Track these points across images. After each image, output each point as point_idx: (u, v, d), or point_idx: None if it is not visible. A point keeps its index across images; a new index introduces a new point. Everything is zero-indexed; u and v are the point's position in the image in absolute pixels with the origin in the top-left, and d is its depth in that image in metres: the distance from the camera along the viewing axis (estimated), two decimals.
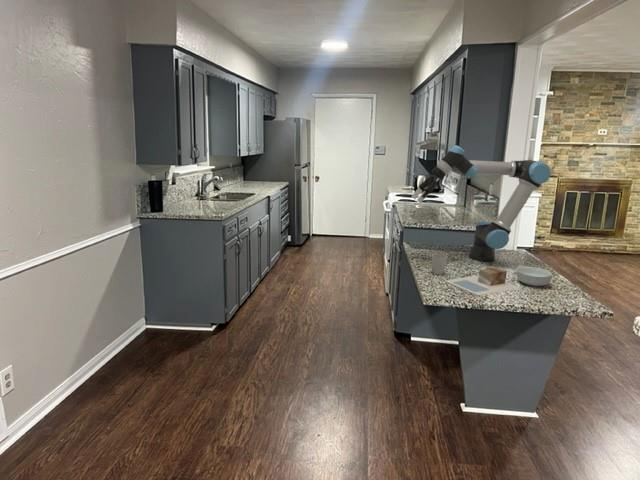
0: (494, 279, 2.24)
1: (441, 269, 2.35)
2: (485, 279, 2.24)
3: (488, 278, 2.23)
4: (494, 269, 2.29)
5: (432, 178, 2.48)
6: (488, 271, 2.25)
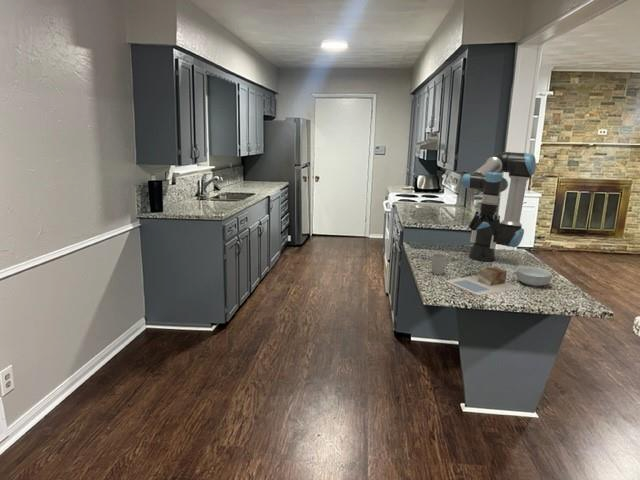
0: (494, 279, 2.24)
1: (441, 269, 2.35)
2: (485, 279, 2.24)
3: (488, 278, 2.23)
4: (494, 269, 2.29)
5: (488, 217, 2.21)
6: (488, 271, 2.25)
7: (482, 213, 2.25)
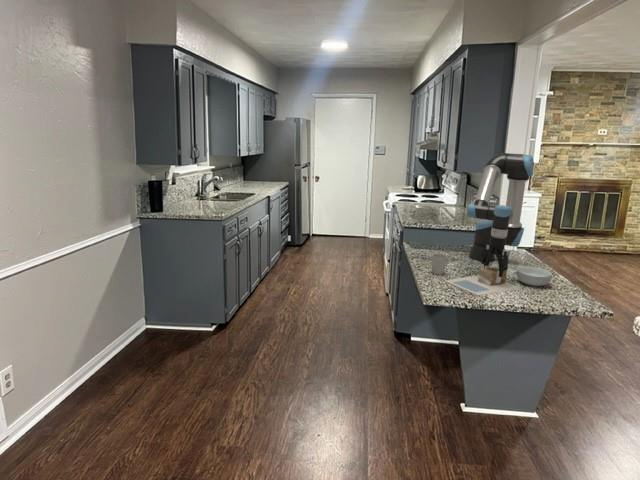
0: (494, 279, 2.24)
1: (441, 269, 2.35)
2: (485, 279, 2.24)
3: (488, 278, 2.23)
4: (494, 269, 2.29)
5: (498, 251, 2.22)
6: (488, 271, 2.25)
7: (491, 245, 2.26)
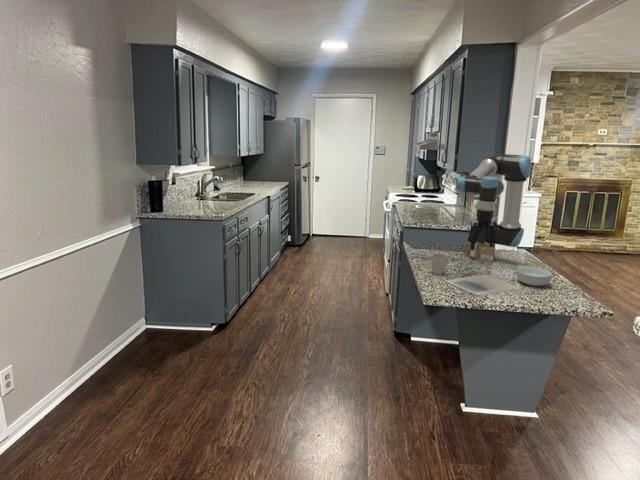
0: None
1: (441, 269, 2.35)
2: (489, 256, 2.13)
3: (492, 253, 2.14)
4: None
5: None
6: (487, 247, 2.14)
7: (481, 220, 2.12)
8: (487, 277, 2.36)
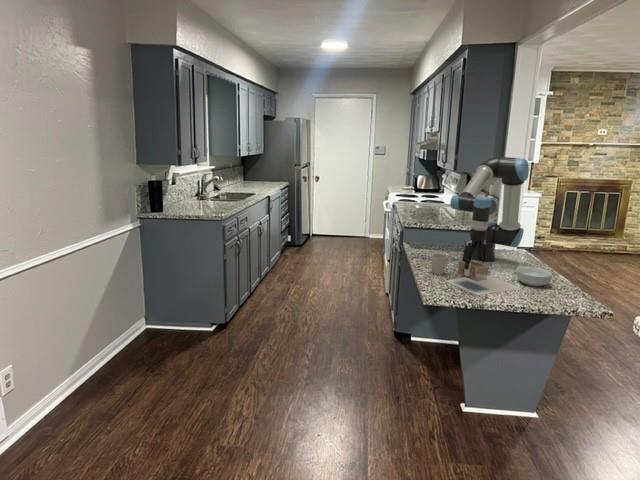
0: None
1: (441, 269, 2.35)
2: (483, 275, 2.15)
3: (486, 272, 2.15)
4: None
5: None
6: (481, 266, 2.15)
7: (475, 240, 2.13)
8: (487, 277, 2.36)
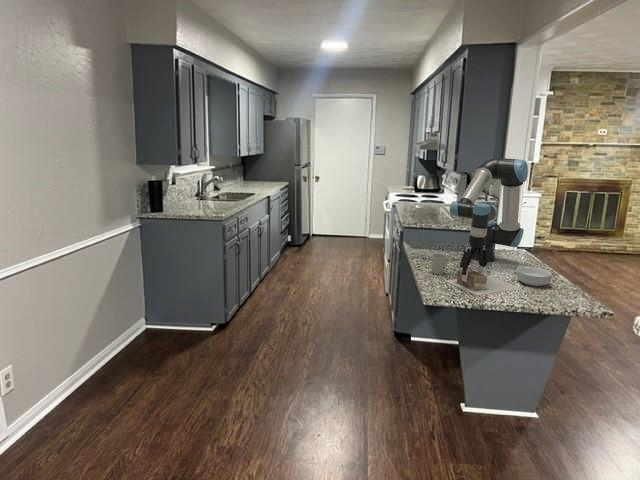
0: None
1: (441, 269, 2.35)
2: (482, 284, 2.16)
3: (485, 281, 2.17)
4: (468, 272, 2.21)
5: None
6: (480, 275, 2.17)
7: (474, 247, 2.14)
8: (487, 277, 2.36)
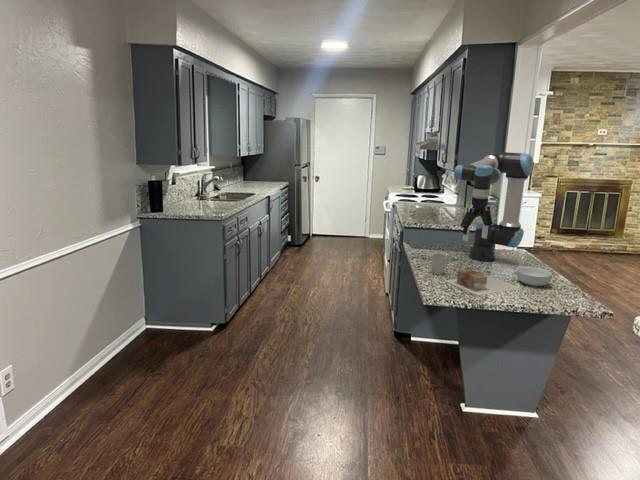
0: None
1: (441, 269, 2.35)
2: (482, 284, 2.16)
3: (485, 281, 2.17)
4: (468, 272, 2.21)
5: None
6: (480, 275, 2.17)
7: (477, 208, 2.18)
8: (487, 277, 2.36)
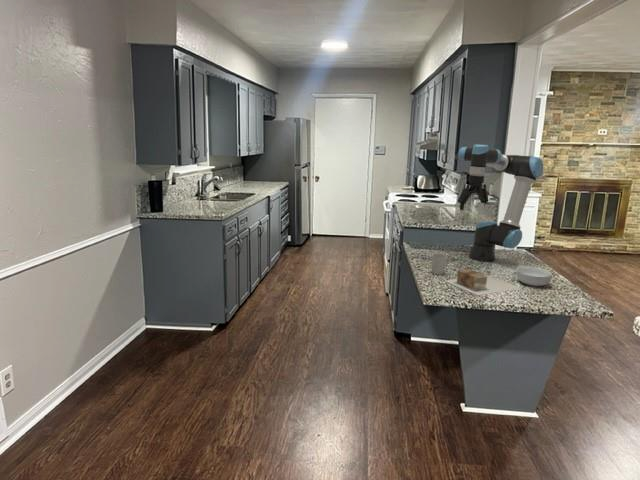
0: None
1: (441, 269, 2.35)
2: (482, 284, 2.16)
3: (485, 281, 2.17)
4: (468, 272, 2.21)
5: None
6: (480, 275, 2.17)
7: (473, 185, 2.30)
8: (487, 277, 2.36)
